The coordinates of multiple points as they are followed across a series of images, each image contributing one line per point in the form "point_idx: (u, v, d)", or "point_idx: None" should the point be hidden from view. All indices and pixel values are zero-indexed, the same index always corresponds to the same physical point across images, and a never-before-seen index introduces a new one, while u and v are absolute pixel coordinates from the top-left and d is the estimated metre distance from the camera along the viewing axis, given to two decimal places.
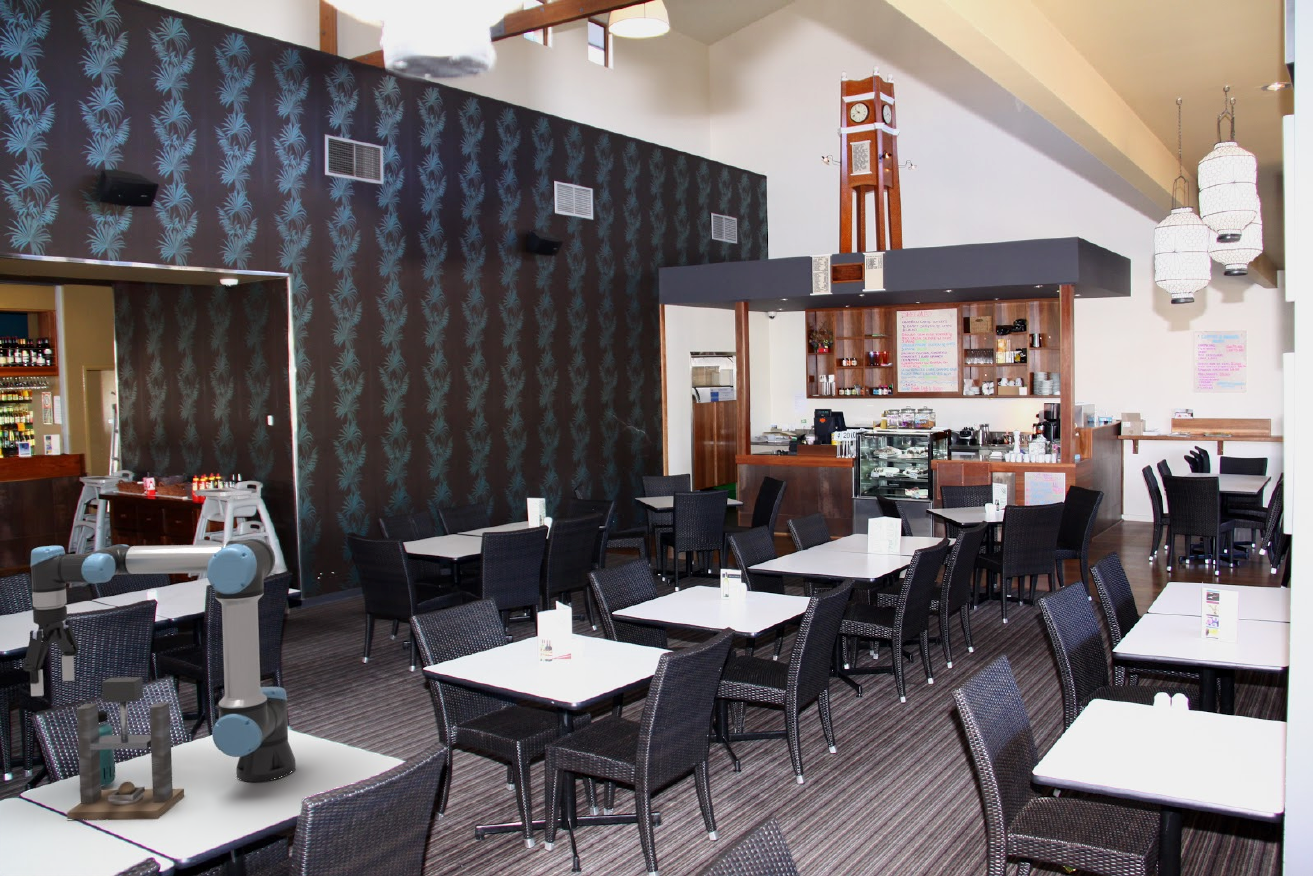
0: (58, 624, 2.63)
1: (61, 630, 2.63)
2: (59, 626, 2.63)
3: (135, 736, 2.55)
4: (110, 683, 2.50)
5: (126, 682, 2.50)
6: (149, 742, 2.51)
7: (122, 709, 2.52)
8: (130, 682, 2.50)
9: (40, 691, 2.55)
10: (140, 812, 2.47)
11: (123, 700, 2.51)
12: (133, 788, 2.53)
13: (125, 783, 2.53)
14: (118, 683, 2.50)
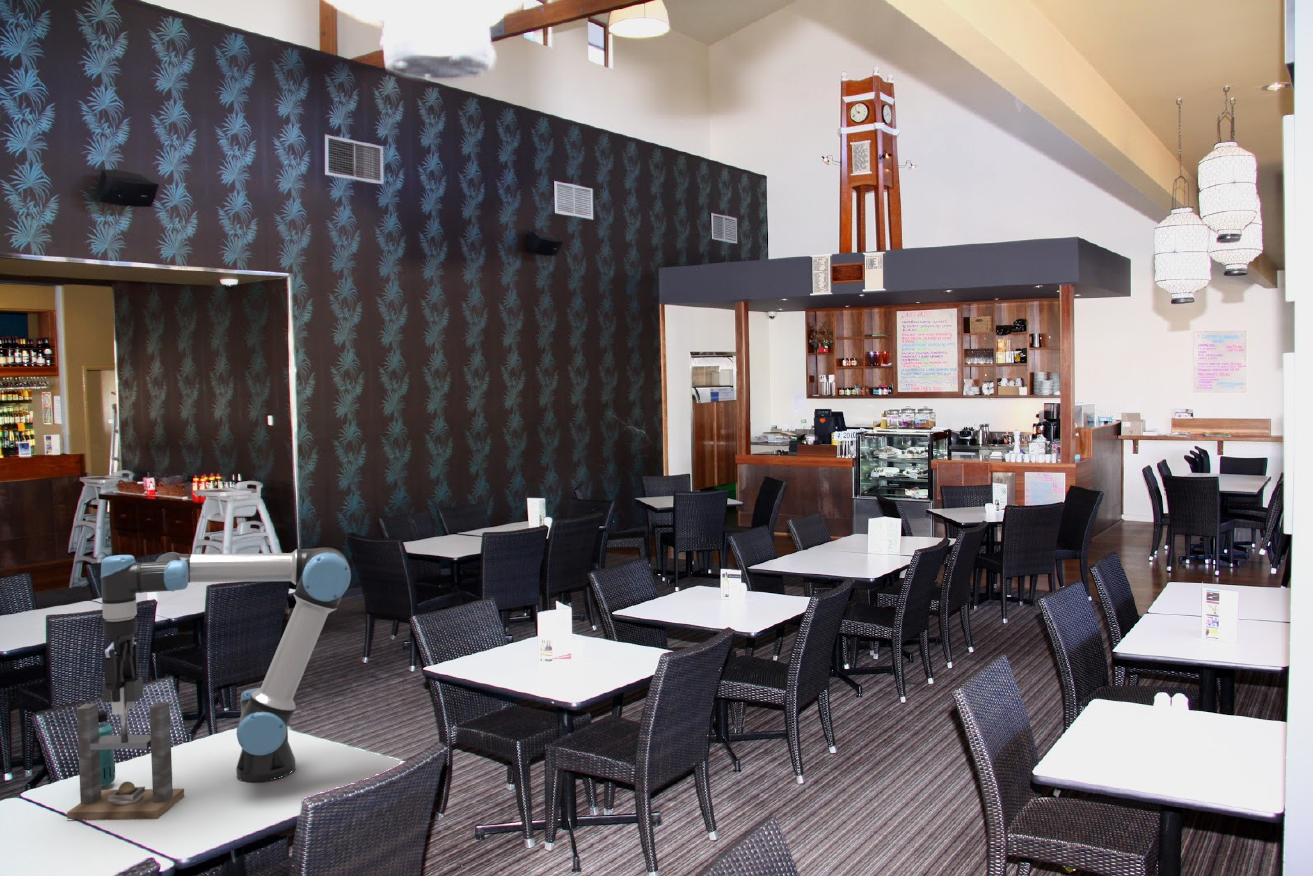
0: None
1: (131, 643, 2.53)
2: (129, 636, 2.54)
3: (135, 736, 2.55)
4: None
5: (126, 682, 2.50)
6: (149, 742, 2.51)
7: None
8: (130, 682, 2.50)
9: (121, 709, 2.50)
10: (140, 812, 2.47)
11: None
12: (133, 788, 2.53)
13: (125, 783, 2.53)
14: None
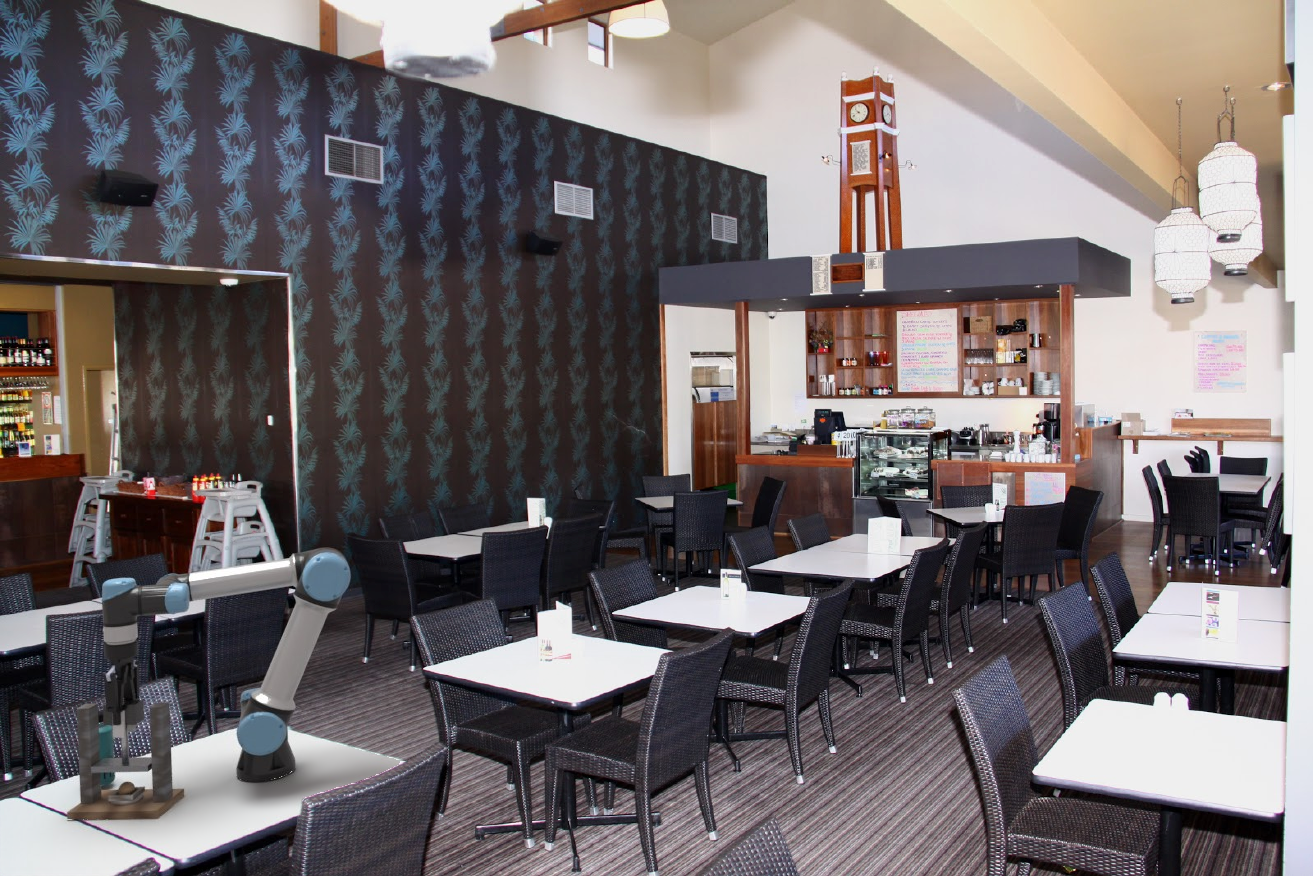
0: None
1: (132, 665, 2.53)
2: (130, 659, 2.54)
3: (136, 759, 2.55)
4: None
5: (127, 705, 2.51)
6: (150, 765, 2.52)
7: None
8: (131, 705, 2.51)
9: (122, 733, 2.50)
10: (140, 812, 2.47)
11: None
12: (133, 788, 2.53)
13: (125, 783, 2.53)
14: None
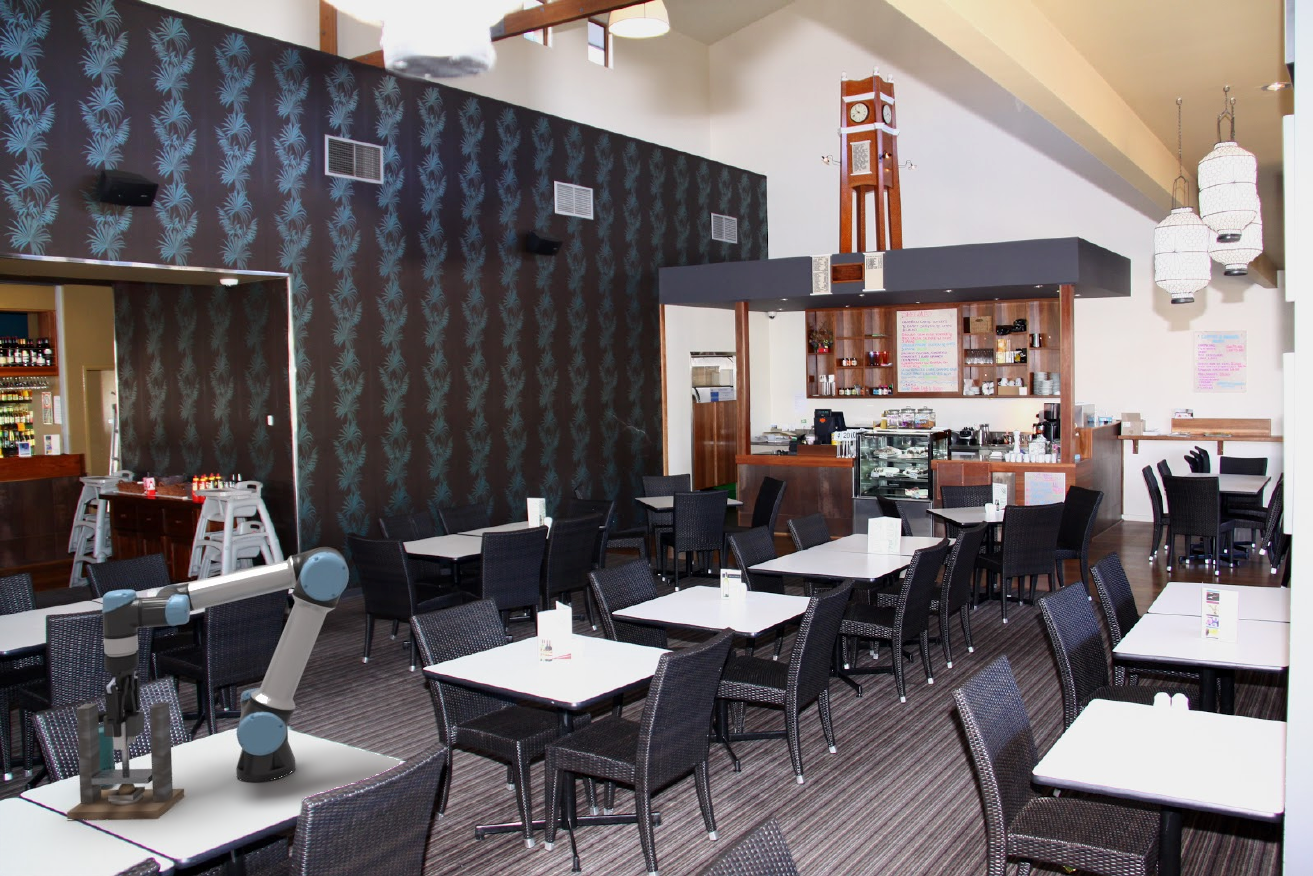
0: None
1: (132, 677, 2.54)
2: (131, 670, 2.54)
3: (136, 770, 2.55)
4: None
5: (127, 717, 2.51)
6: (150, 777, 2.52)
7: None
8: (131, 717, 2.51)
9: (123, 744, 2.50)
10: (140, 812, 2.47)
11: None
12: (133, 788, 2.53)
13: None
14: None
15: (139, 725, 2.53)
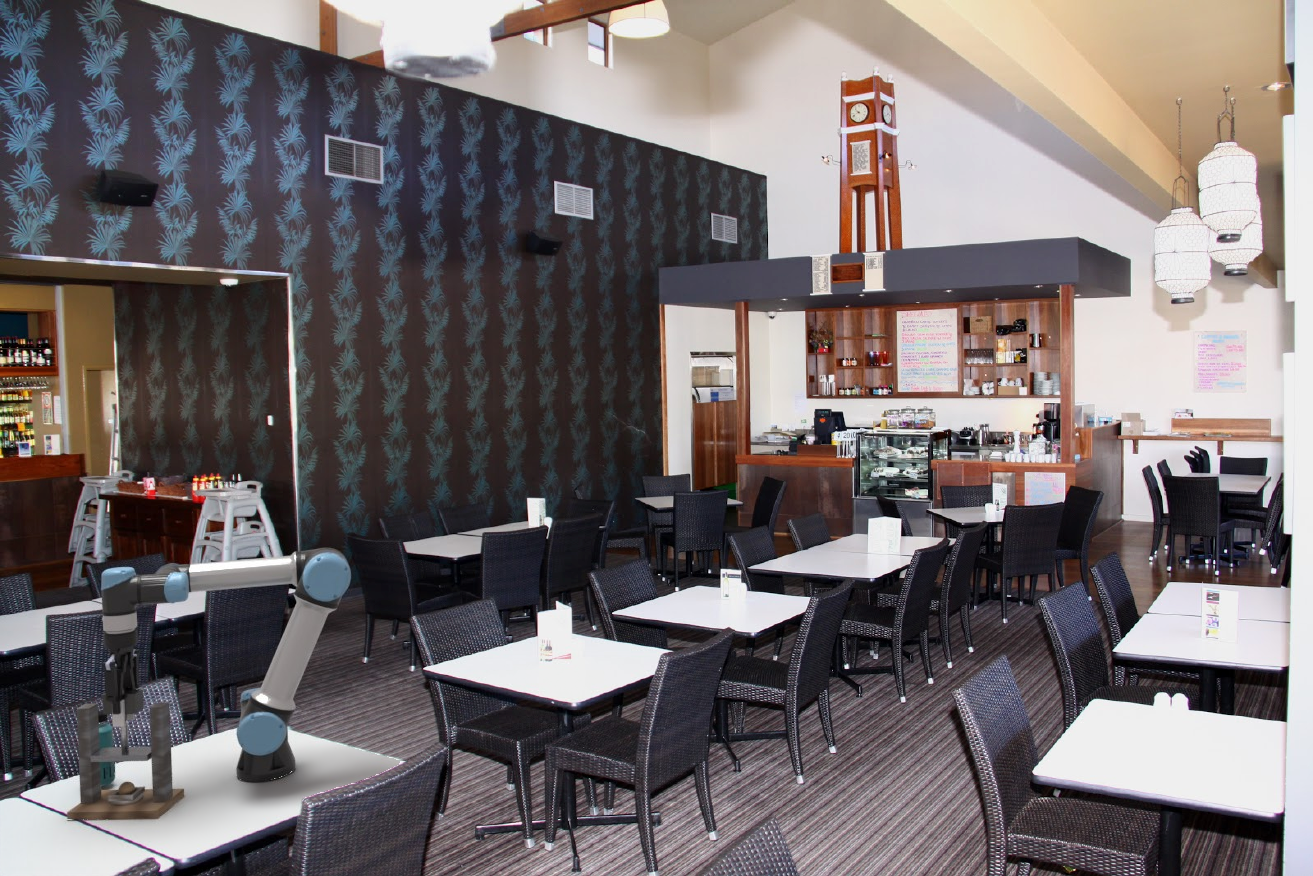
0: None
1: (131, 655, 2.53)
2: (130, 648, 2.54)
3: (135, 748, 2.55)
4: None
5: (126, 694, 2.51)
6: (149, 754, 2.51)
7: None
8: (130, 694, 2.51)
9: (122, 722, 2.50)
10: (140, 812, 2.47)
11: None
12: (133, 788, 2.53)
13: (125, 783, 2.53)
14: None
15: (138, 703, 2.52)
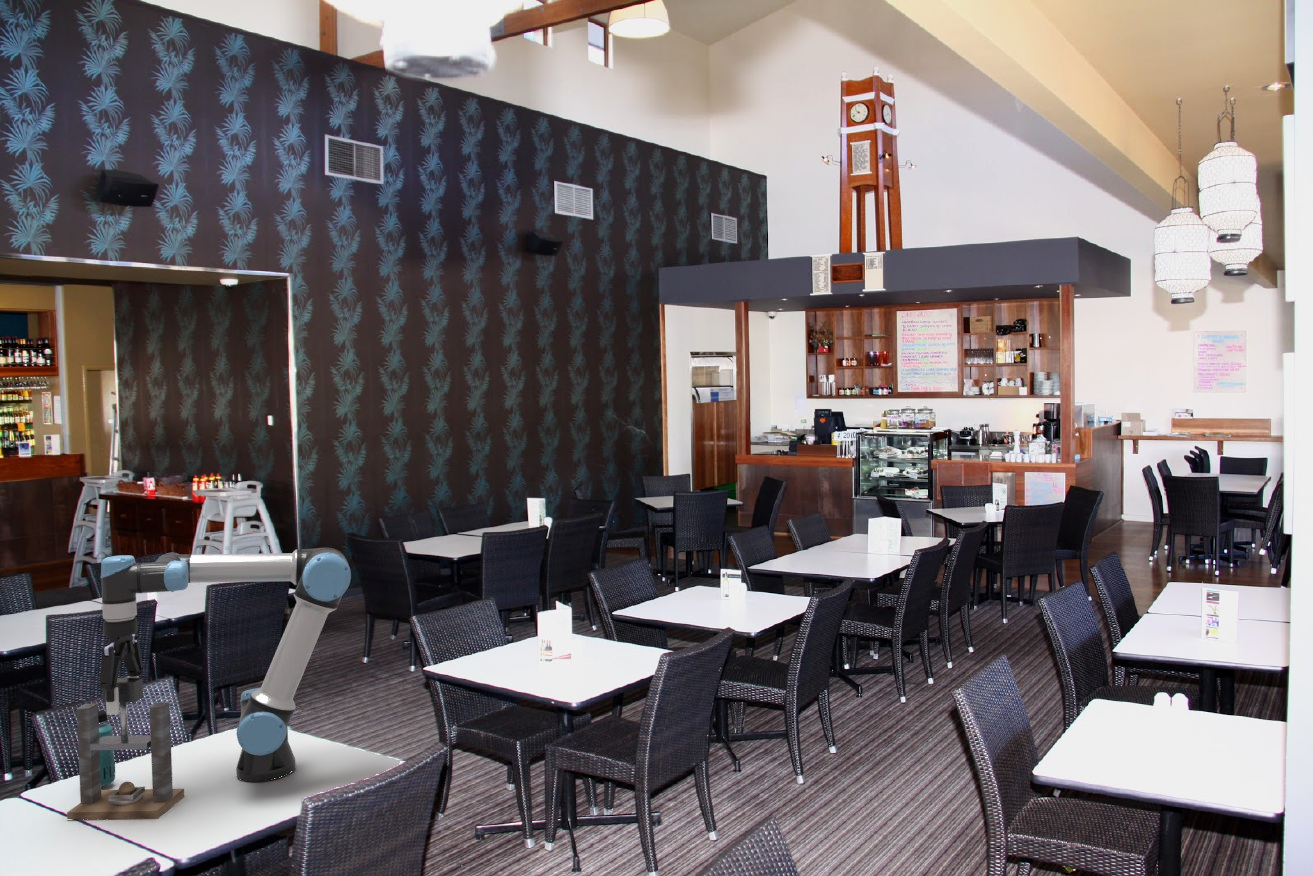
0: (128, 635, 2.54)
1: (131, 643, 2.53)
2: (129, 638, 2.54)
3: (135, 737, 2.55)
4: None
5: (126, 683, 2.50)
6: (149, 743, 2.51)
7: (122, 710, 2.52)
8: (130, 683, 2.50)
9: (116, 709, 2.47)
10: (140, 812, 2.47)
11: (123, 701, 2.51)
12: (133, 788, 2.53)
13: (125, 783, 2.53)
14: (118, 684, 2.50)
15: (138, 691, 2.52)
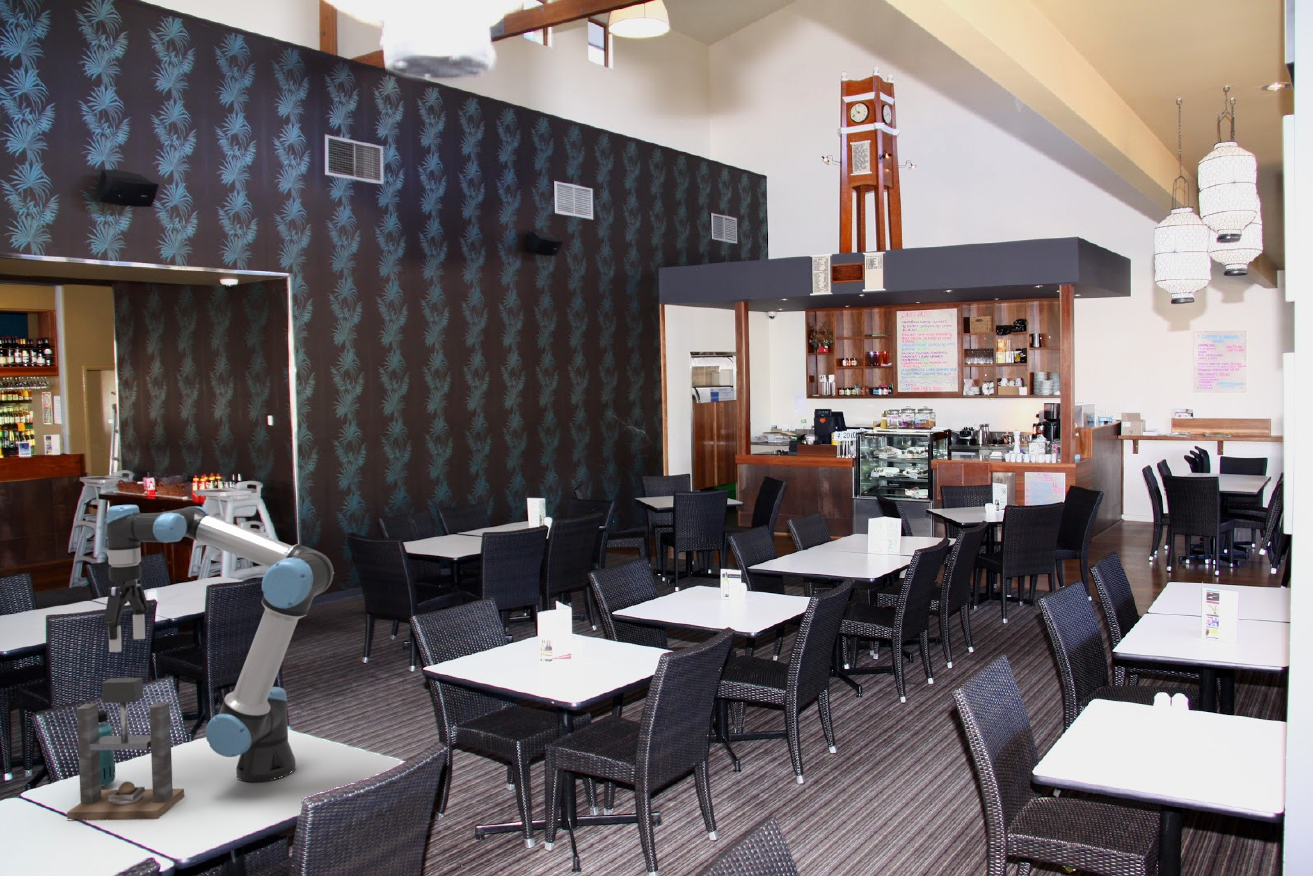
0: (132, 582, 2.66)
1: (135, 588, 2.66)
2: (133, 584, 2.67)
3: (135, 737, 2.55)
4: (110, 684, 2.50)
5: (126, 683, 2.50)
6: (149, 743, 2.51)
7: (122, 710, 2.52)
8: (130, 683, 2.50)
9: (118, 647, 2.58)
10: (140, 812, 2.47)
11: (123, 701, 2.51)
12: (133, 788, 2.53)
13: (125, 783, 2.53)
14: (118, 684, 2.50)
15: (138, 691, 2.52)
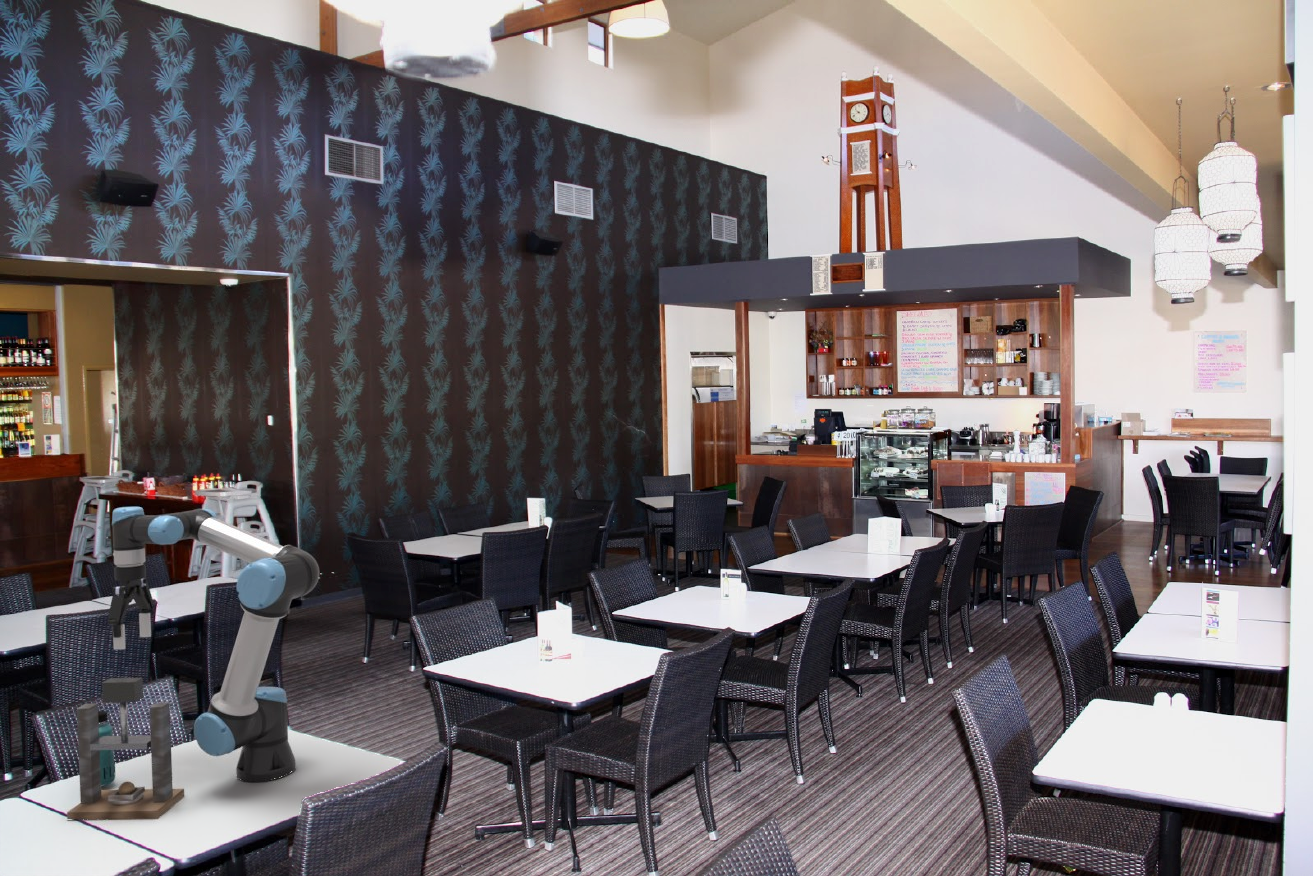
0: (137, 582, 2.74)
1: (140, 587, 2.74)
2: (138, 584, 2.74)
3: (135, 737, 2.55)
4: (110, 684, 2.50)
5: (126, 683, 2.50)
6: (149, 743, 2.51)
7: (122, 710, 2.52)
8: (130, 683, 2.50)
9: (122, 645, 2.66)
10: (140, 812, 2.47)
11: (123, 701, 2.51)
12: (133, 788, 2.53)
13: (125, 783, 2.53)
14: (118, 684, 2.50)
15: (138, 691, 2.52)
